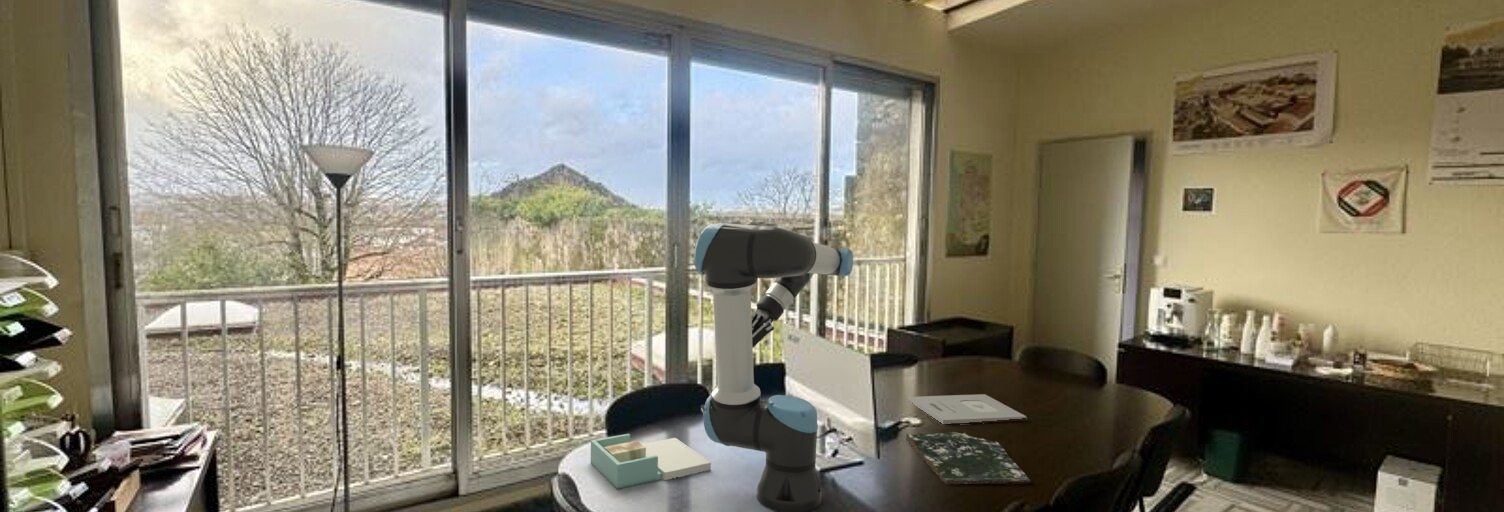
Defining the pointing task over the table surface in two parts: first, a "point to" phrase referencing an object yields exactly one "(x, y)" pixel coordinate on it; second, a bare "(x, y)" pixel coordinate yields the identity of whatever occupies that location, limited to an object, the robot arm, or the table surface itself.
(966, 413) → the award plaque
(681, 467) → the cream board
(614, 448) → the maple block
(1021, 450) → the table surface
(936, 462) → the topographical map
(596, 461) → the box
